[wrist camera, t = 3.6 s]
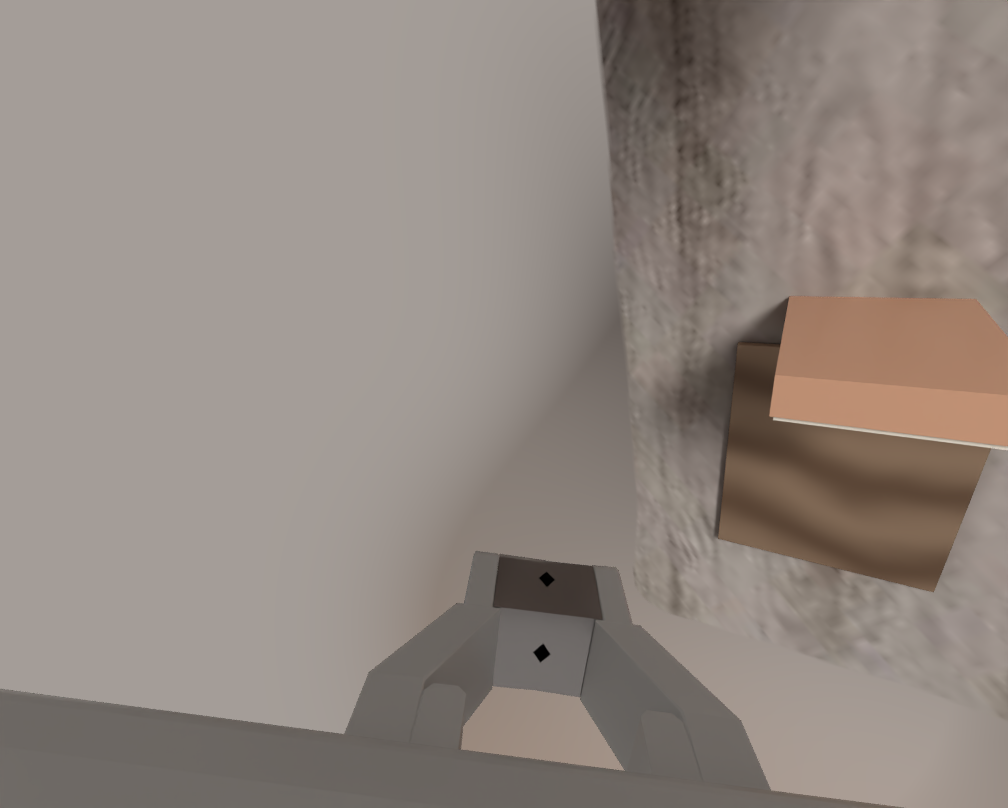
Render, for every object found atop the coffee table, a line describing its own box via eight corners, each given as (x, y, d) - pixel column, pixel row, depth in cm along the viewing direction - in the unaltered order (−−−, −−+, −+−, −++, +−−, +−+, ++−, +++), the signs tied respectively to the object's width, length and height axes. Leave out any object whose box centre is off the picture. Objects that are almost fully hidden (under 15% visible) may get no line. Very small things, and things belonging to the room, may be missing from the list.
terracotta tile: (789, 296, 34) (775, 375, 24) (976, 299, 29) (1059, 399, 19) (784, 331, 36) (768, 421, 25) (962, 340, 31) (1034, 456, 20)
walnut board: (738, 341, 38) (737, 344, 37) (1022, 358, 30) (1025, 362, 29) (719, 534, 47) (718, 538, 46) (932, 586, 39) (933, 592, 38)
